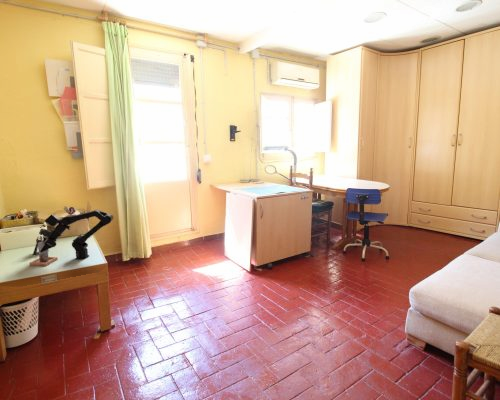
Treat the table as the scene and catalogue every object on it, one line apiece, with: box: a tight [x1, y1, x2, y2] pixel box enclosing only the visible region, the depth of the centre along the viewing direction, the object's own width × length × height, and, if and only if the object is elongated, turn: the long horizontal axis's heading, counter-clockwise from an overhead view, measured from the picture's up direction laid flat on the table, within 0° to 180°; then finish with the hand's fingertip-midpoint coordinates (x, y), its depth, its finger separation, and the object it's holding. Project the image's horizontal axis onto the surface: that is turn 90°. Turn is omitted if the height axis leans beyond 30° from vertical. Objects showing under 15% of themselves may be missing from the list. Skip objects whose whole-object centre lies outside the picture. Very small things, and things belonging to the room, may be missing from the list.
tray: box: [28, 256, 59, 267], centre depth 195 cm, size 11×11×2 cm
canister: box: [37, 242, 50, 263], centre depth 195 cm, size 5×5×13 cm
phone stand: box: [32, 235, 50, 257], centre depth 211 cm, size 9×6×12 cm, turn 118°
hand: (40, 250), depth 193 cm, fingers open, 9 cm apart
